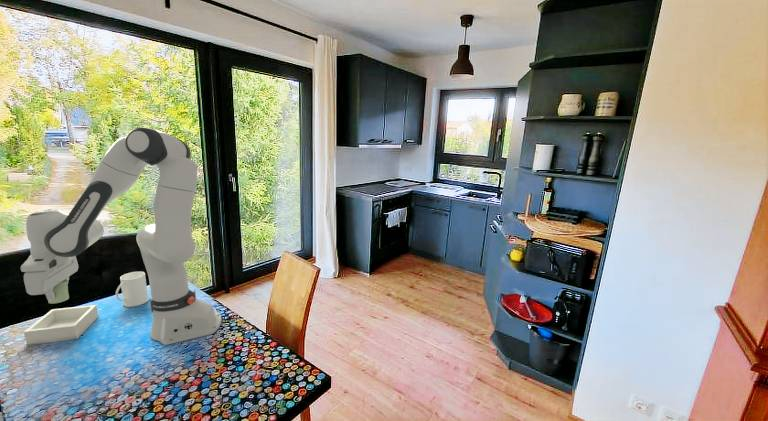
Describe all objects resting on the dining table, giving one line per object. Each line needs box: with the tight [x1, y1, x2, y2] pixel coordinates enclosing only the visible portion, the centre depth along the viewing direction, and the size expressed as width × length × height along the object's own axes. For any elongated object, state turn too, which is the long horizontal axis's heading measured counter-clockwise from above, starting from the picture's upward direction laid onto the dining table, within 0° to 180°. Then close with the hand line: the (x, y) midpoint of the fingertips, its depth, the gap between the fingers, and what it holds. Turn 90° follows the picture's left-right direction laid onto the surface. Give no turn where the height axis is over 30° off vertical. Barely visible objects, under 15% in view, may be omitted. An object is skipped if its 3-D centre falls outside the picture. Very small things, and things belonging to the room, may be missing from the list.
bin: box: [23, 304, 99, 346], centre depth 109 cm, size 13×14×5 cm
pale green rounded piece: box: [47, 281, 70, 305], centre depth 106 cm, size 5×5×6 cm
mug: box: [115, 271, 150, 308], centre depth 127 cm, size 12×8×12 cm
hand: (58, 294), depth 107 cm, fingers closed on pale green rounded piece, 5 cm apart
